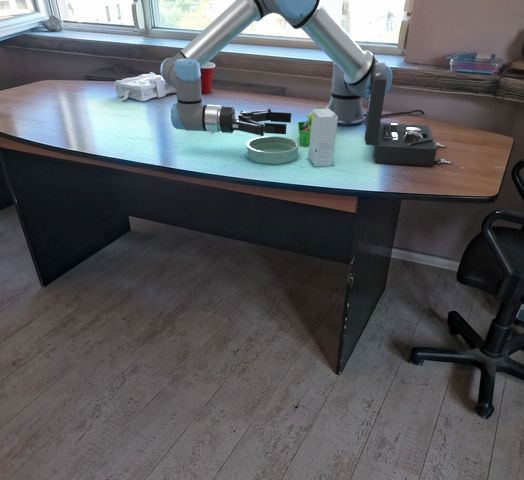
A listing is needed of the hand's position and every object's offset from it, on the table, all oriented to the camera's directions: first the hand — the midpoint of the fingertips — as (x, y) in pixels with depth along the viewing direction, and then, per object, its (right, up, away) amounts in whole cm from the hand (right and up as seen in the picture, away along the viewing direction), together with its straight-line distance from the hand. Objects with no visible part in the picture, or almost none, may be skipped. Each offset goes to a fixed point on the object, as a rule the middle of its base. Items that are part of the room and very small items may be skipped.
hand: (288, 123), depth 148 cm
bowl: (-5, -6, +10) cm, 13 cm away
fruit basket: (+9, +3, +21) cm, 23 cm away
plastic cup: (-35, +50, +76) cm, 97 cm away
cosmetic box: (+10, -10, +6) cm, 15 cm away
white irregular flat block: (-62, +46, +71) cm, 105 cm away
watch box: (+39, -4, +13) cm, 42 cm away
